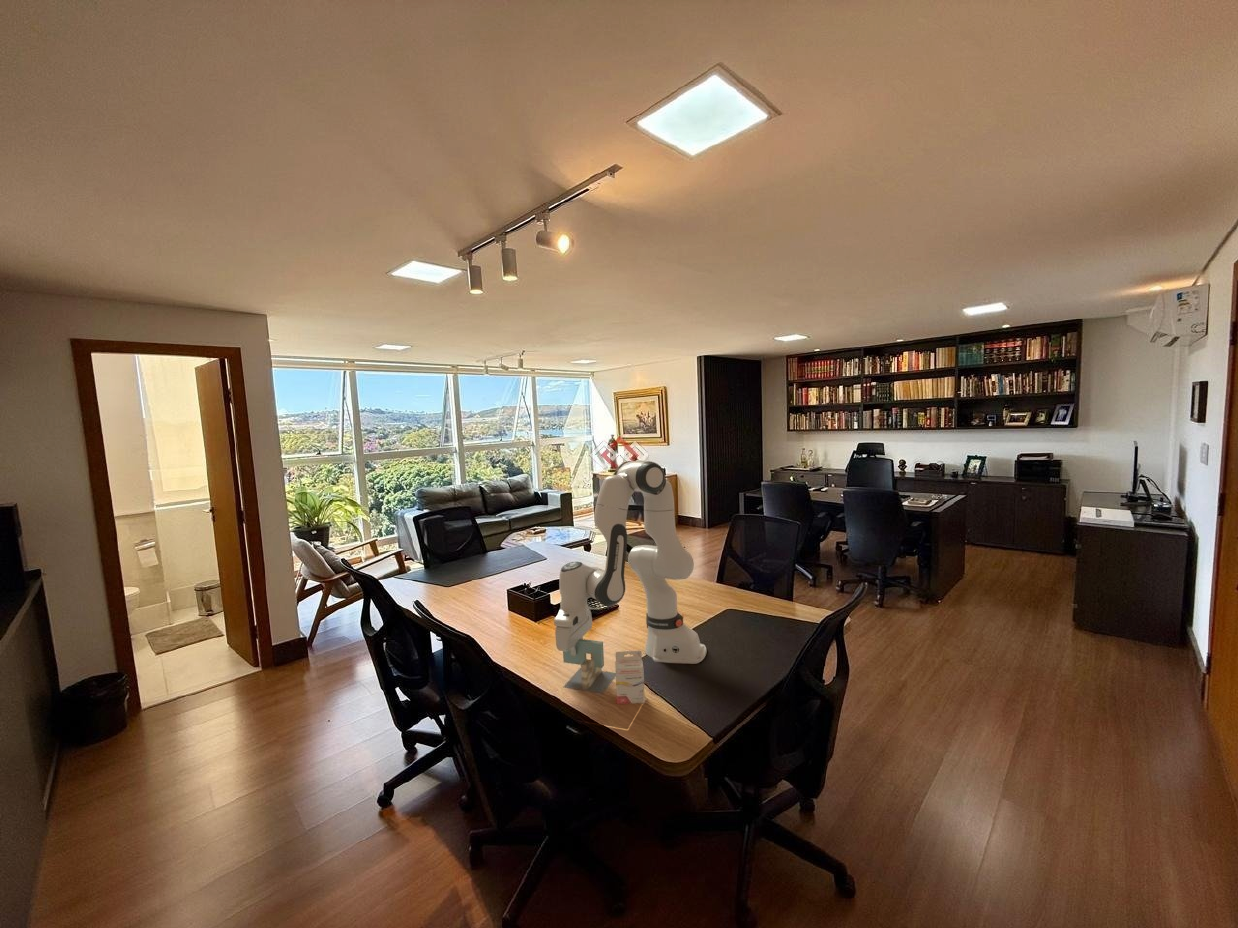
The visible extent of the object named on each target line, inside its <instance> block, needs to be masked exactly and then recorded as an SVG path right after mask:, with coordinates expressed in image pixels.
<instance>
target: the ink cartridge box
mask: <svg viewBox="0 0 1238 928" xmlns="http://www.w3.org/2000/svg"><path fill="white" fill-rule="evenodd" d="M627 655H630V656H627ZM631 655H632V656H631ZM614 663H615V665H614V666H615V667H614V668H615V673H616V676H615V687H616V688H615V692H616V695H615V696H616V704H617V705H626V704H627V705H629V704H640V703H641V705H644V704H646V699H645V698H646V696H645V675H644V673H645V672H644V669H645V668H644V662H643V659H642V650H631V651H630V650H629V651H627V650H626V651H615V662H614Z"/></svg>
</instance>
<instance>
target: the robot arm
mask: <svg viewBox="0 0 1238 928" xmlns="http://www.w3.org/2000/svg"><path fill="white" fill-rule="evenodd" d="M614 471H615V472H614V473H613V474H612V475H608V476H606V477H605V478H604V479H603V481H602V484H601V486H600V489H599V493H598V495H597V499H596V502H595V503H596V504H595V508H594V515H593V518H594V519H593V523H594V524H595V526H596V528H597V529H598V531H599V532H600V534H602V536H603V538H604V539H605V542H606V546H607V552H606V558H605V559H606V561H605V568H604V569H602V568H599V567H596V566H590V565H586V564H584V563H583V562H581V561H572V562H568V563H566V564H564V565H563V566H562V567H561V568H560V572H559V581H558V582H559V585H558V586H559V594H560V599H561V600H560V608H559V610H558V613H557V615H556V616H555V617H554V619H553V625H554V626H555V632H554V633H555V634H554V636H555V637H554V638H555V646H556V649H557V650H558V651H561V652H563V651H565V652H567V651H568V650H569V649H570V650H571V655H573V656H575V655H576V654H577V653H578V652H577V649H576V647H575V646H576V643H577V642H578V641H579V640H580V639H584V636H585V635H587V633H588V632H589V631H590V630H592V629H593V628H592V627H593V617H592V612H591V609H589V604H588V599H590V598H592V599H594V600H595V601H597V602H599V604H601V605H602V606H604V607H608V608H609V607H613V606H615V605H617V604H619V603H620V602H621V601H622V599H623V598H624V595H625V593H626V581H625V566H626V557H627V547H628V533H627V532H628V531H627V515H628V510H629V505H630V499H631V498H632V496H633V494H634V493H641V494H642V496H643V501H644V502H643V519H644V520H643V521H644V524H643V527H644V530H645V534H647V535H648V536H649V537H651V538H652V539H653V540H654V542H655V545H651V544H642V545H641V544H640V545H635V546H633V547H632V548H631V550H630V551H629V553H628V558H627V562H628V567H629V568H630V569H631V571H633V572H634V573H635V575H636V576H637V577H638V579H639V580H640V582H641V584H642V587H643V590H644V593H645V598H646V599H645V600H646V609H647V610H646V611H647V613H646V618H645V621H646V622H645V624H646V628H647V632H646V633H647V635H646V636H647V637H646V643H645V647H644V653H645V654H646V655H647V656H648V657H650V658H651V659H652V660H653V661H654V662H655V663H665V664H689V665H691V664H692V665H693V664H694V665H695V664H699V663H700V662H702V661H703V660H704V659H705V658H706V655H707V647H706V646H707V645H705V644H704V643H701V641H700V637H699V635H698V633H697V632H696V631H695V630H693V629H692V628H691V627H689V626H688V625H687V624H685V623H684V617H685V615H684V613H682V614H680V613H679V612H678V596H677V592H676V590H675V588H674V587H673V586H671V585H670V584H669V582H667V580H672V581H679V580H682V581H683V580H687V579H689V578H690V576H691V575H692V573H693V571H694V568H695V563H694V558H693V556H692V555H691V553H690V552H688V550H687V549H686V548H685V547H684V545H682V543H681V541H680V539H679V536H678V533H677V529H676V517H675V515H676V514H675V498H674V490H673V486H672V484H671V482H670V481H669V480H667V479H666V474H665V471H664V470H663V467H662V466H661V465H659V464H658V463H656V462H654V461H651V460H650V461H647V460H639V459H638V460H628V461H624V462H622V463H620V464H619V465H618V466H617V467H616V469H615V470H614ZM666 579H667V580H666Z"/></svg>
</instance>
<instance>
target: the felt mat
mask: <svg viewBox="0 0 1238 928" xmlns="http://www.w3.org/2000/svg"><path fill="white" fill-rule="evenodd" d="M614 679H616V672H611V671H605V670H602V672H601V673H600V675H599V676H598V677H597V678H596V680H595V681H594V682H593V683H592V685H591V686H590V687H589V688H588V690H583V689H582V679H581V667H580V668H578V670H577V671H576V672H574V674H573V675H572V676H571V677H570V679H569V680H568V681H567V682H566V683H565V684H564V685H563V688H566V689H571V690H578V691H584V692H590V693H597V694H603V695H604V693H605V692H606V690H607V689H608V688H609V686H610V684H611V683H612V682H613V681H614Z"/></svg>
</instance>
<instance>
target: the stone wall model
mask: <svg viewBox="0 0 1238 928" xmlns="http://www.w3.org/2000/svg"><path fill="white" fill-rule="evenodd" d="M580 668H581V679H582V689H583V690H588V688H589V687H590V686H591V685H592V683H593V682H594V681H595V680H596V678H597V677H598V676H599V675H600V673H601V672H602V671H603V670H602V669H603V667H602V668H599V667H594V654H590V659H588V658H586V660H585V661H584V662H583V663H582V664H581V665H580ZM583 690H582V691H583Z"/></svg>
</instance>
